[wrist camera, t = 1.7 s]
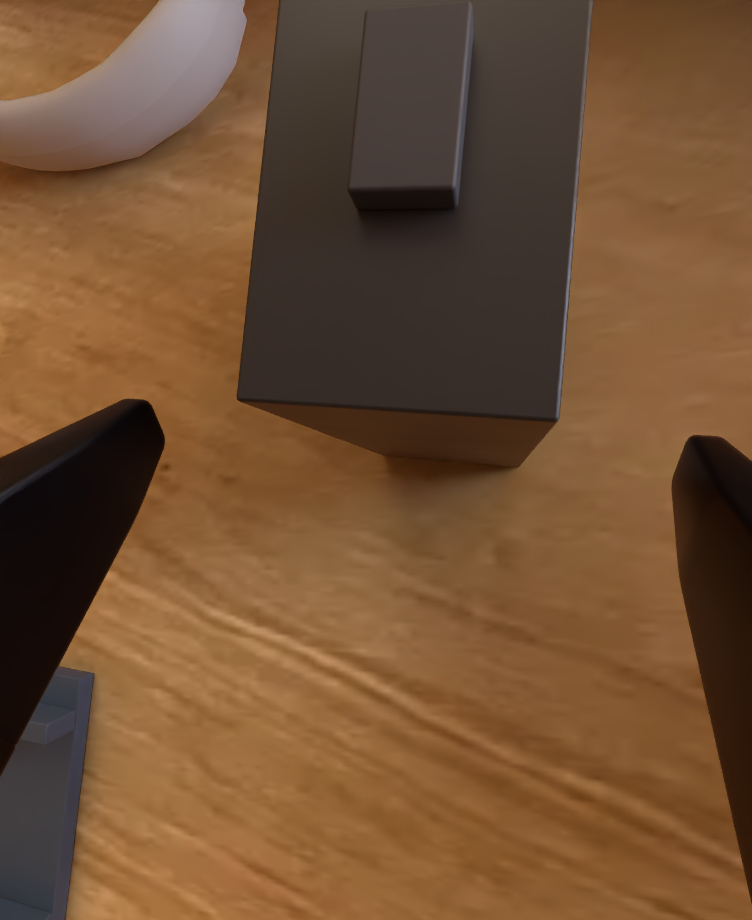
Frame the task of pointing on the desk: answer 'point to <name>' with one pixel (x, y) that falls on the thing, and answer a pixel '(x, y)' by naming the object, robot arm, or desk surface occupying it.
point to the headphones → (129, 91)
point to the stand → (44, 801)
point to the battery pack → (418, 223)
